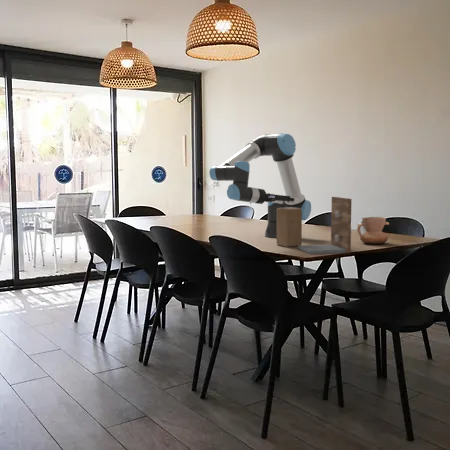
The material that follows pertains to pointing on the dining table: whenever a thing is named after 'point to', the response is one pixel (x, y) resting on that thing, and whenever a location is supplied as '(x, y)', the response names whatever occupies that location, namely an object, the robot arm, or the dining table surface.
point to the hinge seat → (321, 249)
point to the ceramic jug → (373, 230)
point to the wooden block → (289, 226)
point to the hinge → (362, 229)
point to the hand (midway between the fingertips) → (290, 201)
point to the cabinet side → (341, 223)
